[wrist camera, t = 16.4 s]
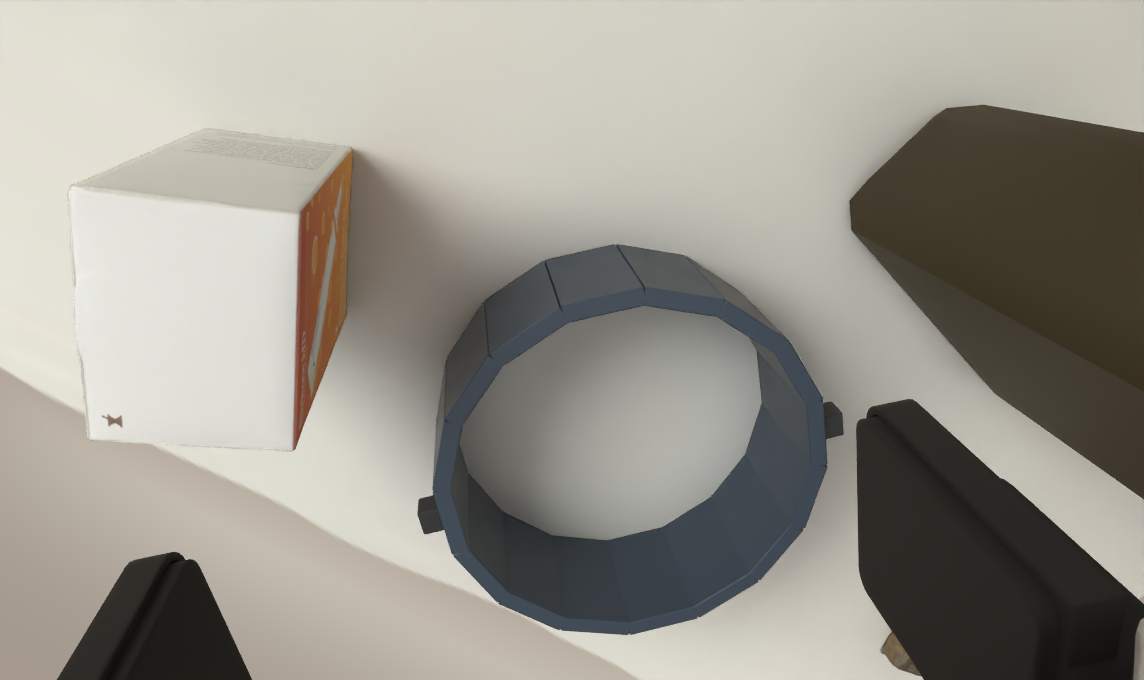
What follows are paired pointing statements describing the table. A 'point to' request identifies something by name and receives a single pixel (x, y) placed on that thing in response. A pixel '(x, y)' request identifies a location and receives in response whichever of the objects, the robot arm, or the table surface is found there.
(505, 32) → the table surface
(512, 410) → the table surface
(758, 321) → the blue-grey ring
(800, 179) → the table surface
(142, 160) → the small box
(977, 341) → the bottle
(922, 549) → the robot arm
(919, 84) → the table surface
